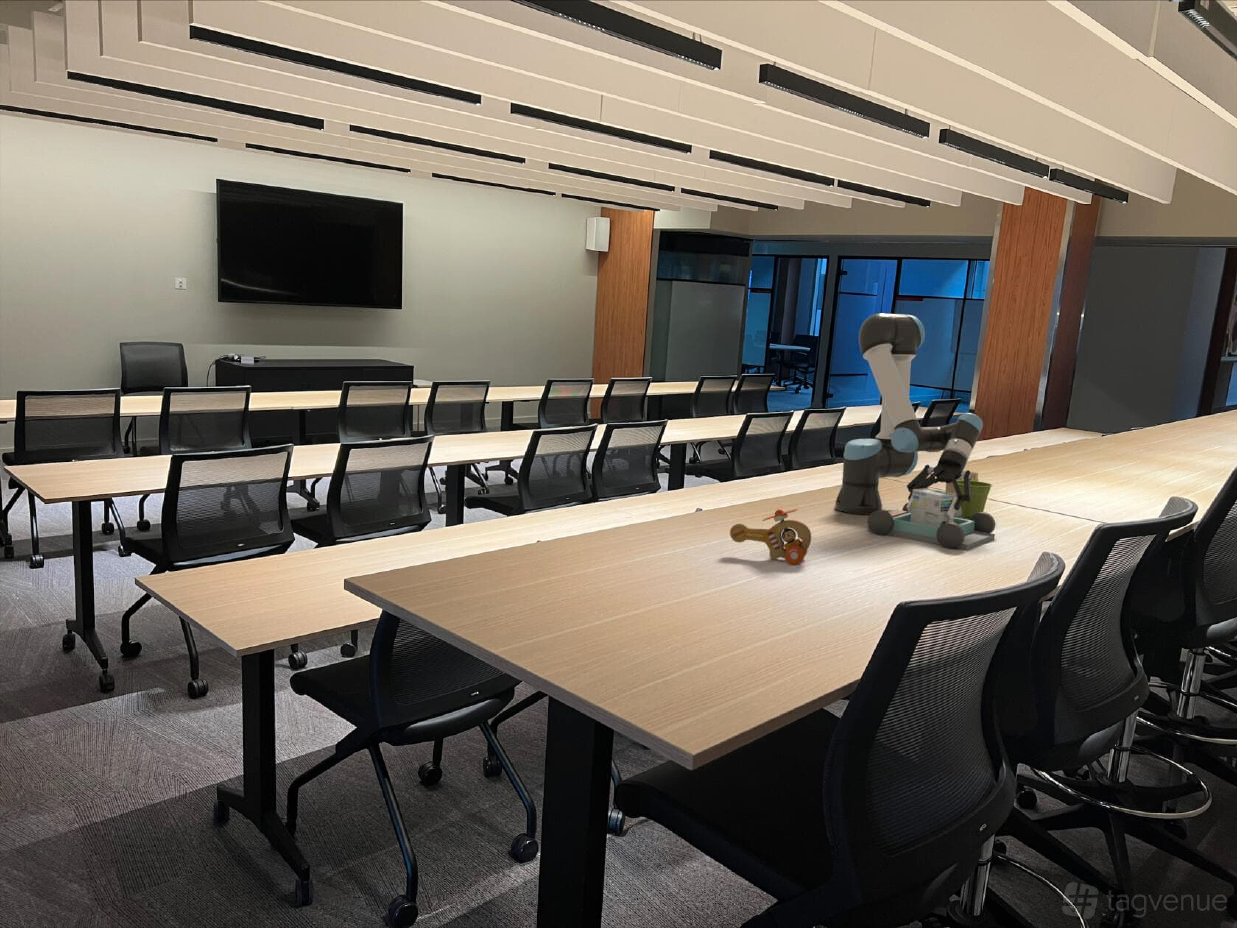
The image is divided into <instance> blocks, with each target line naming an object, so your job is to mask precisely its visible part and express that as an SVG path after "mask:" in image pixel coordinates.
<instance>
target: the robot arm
mask: <svg viewBox="0 0 1237 928" xmlns="http://www.w3.org/2000/svg"><path fill="white" fill-rule="evenodd" d="M925 337H926V332H925V327H924V325H923V323H922V321H921V320H920V319H919V318H918V317H917V316H915V315H911V314H905V313H883V312H882V313H881V312H878V313H875V314H871V315H870V316H868V318H866V319H865V320H864V321H863V323H862V324H861V327H860V329H859V332H858V345H859V349H860V353H861V356H862V358H863V359H864V360H867V362H868V364H869V366H870V370H871V372H872V375H873V378H874V380H875V383H876V385H877V388H878V391H879V393H880V395H881V413H880V414H881V416H880V417H881V418H880V431H879V433H877V435H875V438H857V439H852V440H850V441H848V442H846V444H845V446H844V451H843V464H842V465H843V466H842V467H843V468H842V478H841V479H842V482H841V487H840V490H839V492H838V495H837V497H836V500H835V502H834V509H835V510H836V509H838V510H837V511H839V512H842V511H844V512H843V513H846V512H847V513H848V514H855V515H870V514H871V513H873V512H875V511H878V510H883V502H882V499H881V494H880V491H879V490H880V489H879V483H880V482H879V481H880V479H883V478H900V477H905V476H908V475H909V474H911V473H912V472H913V471H914V469H915V468H916V467H917V465H918V461H919V453H918V452H926V453H938V452H939V453H940V452H941V451H943V452H942V453H941V455H940V457H939V459H938V461H937V465H936V466H934V467H933V466H930V465H929V464H926V465H925V466H924V468H923V469H922V470H921V471H920V472H919V473H918V474H917V475H916V476H915V477H914V478H913V479H912V480H911V481H910V482H909V483H908V484H907V485H906V487H907V490H908V492H909V495H908V497H907V499H908V502H909V503H908V502H907V503H908V505H907V507H906V508H907V510H908V512H909V513H911V507H912V494H913V489H923V488H928V489H929V488H930V487H931V486H933V485H934V484H938V483H945V484H946V483H949V484H950V483H951V482H952V483H953V486H954V488H955V491H956V493H957V496H958V498H957V497H954V499H953V501H952V503H951V506H950V508H949V510H948V512H947V516H948V519H949V520H952V517H953V515H954V513H955V511H956V510H959V509H960V507H961V504H962V502H963V501H968V502H969V501H971V494H970V480H971V477H972V476H971V473H970V472H971V471H970V470H964V469H965V467H966V466H967V462H968V461H969V459H970V457H971V454H972V452H973V449H974V447H975V445H976V443H977V441H978V439H979V436H981V433H982V429H983V425H984V423H983V420H982V419H981V418H980V416H978V415H977V414H974V413H972V412H964V413H962V414H961V415H960V416H959V417H958V418H957V419H956V422H953V423H949V424H945V425H942V426H941V425H940V426H927V427H926V426H925V427H924V426H921V424H920V423H919V420H918V418H917V415H916V412H915V410H914V407H913V405H912V402H911V400H910V386H911V385H910V383H911V366H912V361H913V359H914V358H916V356H917V350H918V349H920V348H921V346H922V344H924V340H925ZM962 471H966V472H962ZM961 476H963V479H964V491H965V495H962V494H961V491H960V489H959V486H958V484H957V481H956V480H957V479H958V478H960V477H961Z"/></svg>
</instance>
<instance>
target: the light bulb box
mask: <svg viewBox="0 0 1237 928" xmlns="http://www.w3.org/2000/svg"><path fill="white" fill-rule="evenodd" d="M954 497H956V494H953V493H948V492H945V491H942V490H938V489H932V488H929V487H928V488H923V489H913V494H912V507H911V519H910V522H914V523H919V524H925V525H930V526H936V527H940V526H941V525H943V524H946V523H949V522H954V515H953V517H952V520H949V519H948V516H947V512H948V510H949V508H950V506H951V503H952V501H953V499H954Z"/></svg>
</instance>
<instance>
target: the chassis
mask: <svg viewBox="0 0 1237 928" xmlns="http://www.w3.org/2000/svg"><path fill="white" fill-rule="evenodd" d="M908 503H909V501H908V502H906V503H905V504H904V505H903V506H902V509H901V510H900V509H894V510H889V511H888V510H885V509H882V510H878V511H875V512H873V513H871V514H868V515H869V516H868V517H867V532H872V533H873V534H875V535H879V536H880V535H888V536H895V537H899V538H903V539H910V540H912V541H913V540H915V541H919V542H925V543H929V544H934V545H939V546H942V547H943V548H945V549H954V548H956V549H961V550H966V551H968V550H971V549H973V548H976V547H978V546H980V545H983V544H986V543H989V542H990V541H993V540H995V536H996V534H995V533H993V532H994V531H995V529H996V520H995V519H994V517H993V516H992V514H990V513H988V512H985V511H983V512H979V513H976V514H974V515H972V516H971V517H970V518H969V519H965V518H963V519H960V518H954V522H949V523H946V524H943V525H941V526H940V527H936V526H930V525H925V524H919V523H914V522H910V519H911V513H909V512H908V510H907V508H906V507H907V505H908Z"/></svg>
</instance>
